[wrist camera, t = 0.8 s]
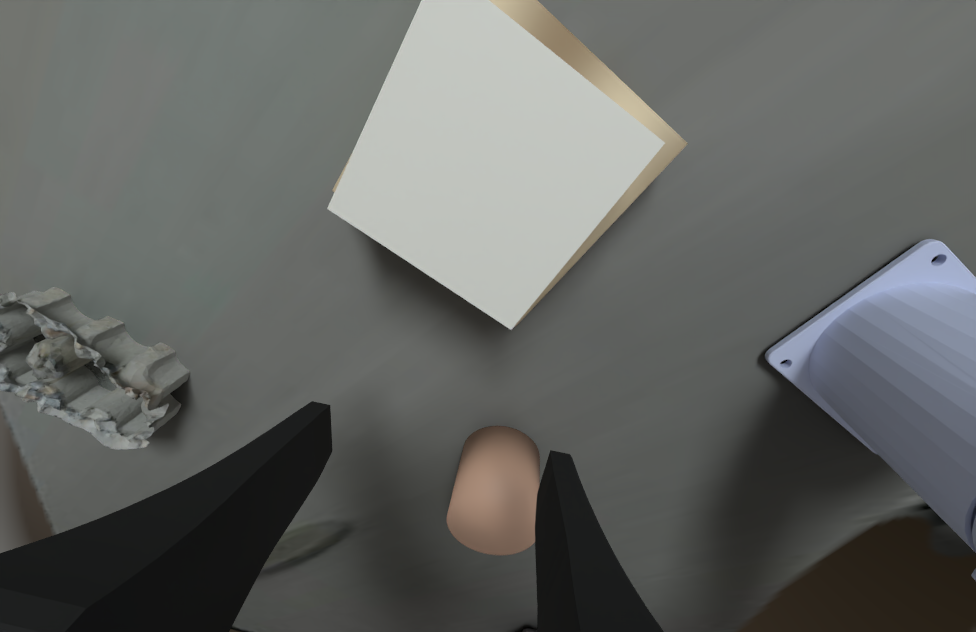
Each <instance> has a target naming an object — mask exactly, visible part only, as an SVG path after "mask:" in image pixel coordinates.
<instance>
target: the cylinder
mask: <svg viewBox="0 0 976 632" xmlns="http://www.w3.org/2000/svg"><path fill="white" fill-rule="evenodd" d="M539 477H540V455H539V451H538V448H537V446H536V444H535V443H534V442H533V441H532V440H531V439H530V438H529V437H528V436H527V435H526V434H524V433H522V432H520V431H518V430H516V429H513V428H510V427H504V426H490V427H485V428H482V429H479V430H477V431H475V432H474V433H472V434H471V435H470V436H469V437H468V438H467V440H466V441H465V444H464V447H463V451H462V455H461V460H460V464H459V468H458V472H457V476H456V480H455V485H454V489H453V493H452V497H451V501H450V505H449V510H448V514H447V525H448V528H449V530H450V532H451V533H452V535H453V536H454V537H455V538H456V539H457V540H458V541H459V542H461V543H462V544H463V545H465V546H467V547H469V548H470V549H473V550H475V551H478V552H481V553H485V554H491V555H510V554H515V553H519V552H521V551H524V550H525V549H527V548H529V547H530V546H531V545H532V544H533V543H534V542H535V516H536V502H537V493H538V489H539Z"/></svg>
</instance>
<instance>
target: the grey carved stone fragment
mask: <svg viewBox="0 0 976 632" xmlns="http://www.w3.org/2000/svg"><path fill="white" fill-rule="evenodd" d="M40 334H43V335H44V337H45V338H47V339H45V340H42V341H40V342H38V343H37V342H36V341H34V339H33V337H36V336H38V335H40ZM92 360H93V361H94V363H95V364H94V365H93V366H96V367H99V368H100V370H101V372H103V373H104V375H105V376H108V377H109V379H110V380H111V382H112V383H114V384H115V386H116V387H117V389H115V390H114V391H109V390H107V389H105V388H103V387H101V386H100V385H99V383H98V380H97V378H96V376H95V375H94V373H93V372H92V371H91V370H90V369H88V368H87V367H85V366H83V365H85V364H87V363H89V362H90V361H92ZM189 374H190V371H189V370H188V369H186V368H185V367H184V366H183V365H182V364H181V363H180V362H179V360H178V358H177V356H176V352H175V351H174V350H173V349H172V348H171V347H169V346H167V345H165V344H163V343H158V344H156V345H155V346H149V347H146V346H143V345H140V344H138V343H137V342H135V341H134V340H133V339H132V338H131V337H130V336H129V334H128V333H127V331H126V329H125V326H124V323H123V322H121V321H119V320H116V319H113V318H111V317H109V316H106V317H105V318H102V319H99V320H93V319H90V318H88V317H86V316H85V315H83V314H82V313H81V312H79V311H78V309H77V308H76V307H75V305H74V304H73V302H72V299H71V295H70V294H68V293H66V292H65V291H63V290H61V289H59V288H56V287H52V288H50V289H48V290H47V291H45V292H38V291H32V292H30V293H27V294H24V295H21V296H19V297H16V294H15V293H14V292H8V293H5V294H2V295H0V390H1V391H5V392H15V393H16V394H15V395H16V396H18V397H20V398H21V399H22V401H23V402H34V401H37V404H38V412H39V413H44V414H49V415H53V416H56V417H59V418H61V419H63V420H64V421H66V422H67V423H69V424H71V425H74V426H77V427H81V428H83V429H85V430H87V431H88V432H90V433H91V434H92V435H93V436H94V437H95V438H96V439H97V440H98V441H99V442H101V443H102V444H103V445H104V446H107V447H109V448H112V449H120V450H122V449H136V448H143V447H146V446H147V445H149V442H148V441H147V440H146V439H147V438H148V437H150V436H151V435H152V433H153V432H155V431H156V430H157V429H158V428H160V427H161V426H163V425H164V424H165V423H166V422H167V421H168V420H170V419H171V418H172V417H173V416H175V415H176V414H177V412H178V411H179V409H180V407H181V403H179V402H178V401H177V400H175V399H174V398H173V397H172V395H171V394H170V393H171V392H172V391H174V390H175V389H177V388H178V387H180V386H181V385H182V384H183V383H184V382H186V381H187V380H188V377H189ZM141 396H142V397H143V398H142V397H141Z"/></svg>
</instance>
